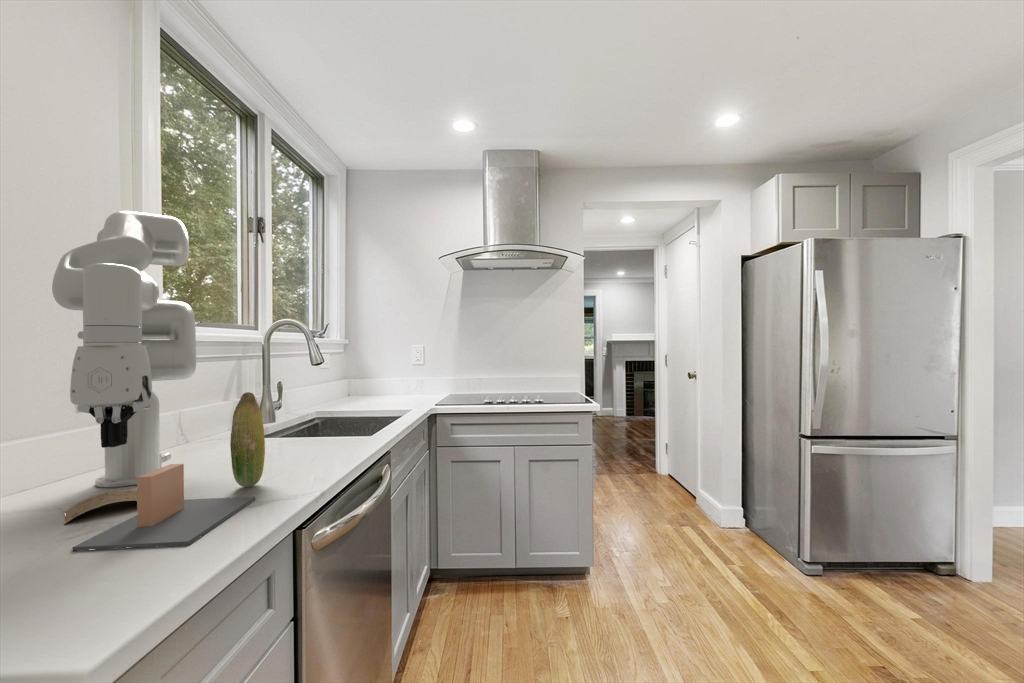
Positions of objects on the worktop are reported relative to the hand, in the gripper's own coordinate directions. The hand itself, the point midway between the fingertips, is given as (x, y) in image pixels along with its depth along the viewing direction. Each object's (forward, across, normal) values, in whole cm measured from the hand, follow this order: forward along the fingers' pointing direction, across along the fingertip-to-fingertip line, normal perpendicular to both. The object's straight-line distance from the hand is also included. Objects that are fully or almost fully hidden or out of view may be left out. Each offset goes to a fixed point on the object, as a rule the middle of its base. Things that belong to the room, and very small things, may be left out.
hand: (114, 445), depth 76 cm
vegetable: (+13, +14, +17) cm, 26 cm away
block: (+12, +8, 0) cm, 15 cm away
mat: (+13, +10, -1) cm, 17 cm away
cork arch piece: (+14, -6, +8) cm, 17 cm away
